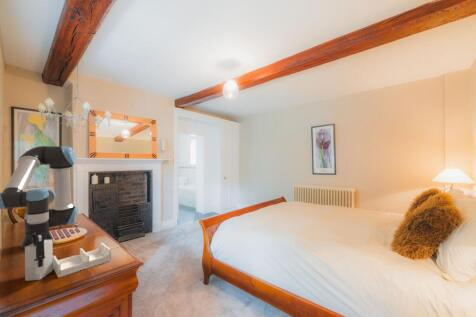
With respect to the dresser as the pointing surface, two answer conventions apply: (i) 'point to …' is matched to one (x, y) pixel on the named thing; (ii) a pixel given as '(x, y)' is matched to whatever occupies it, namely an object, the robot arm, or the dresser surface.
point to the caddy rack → (81, 261)
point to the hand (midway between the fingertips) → (38, 269)
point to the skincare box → (31, 264)
